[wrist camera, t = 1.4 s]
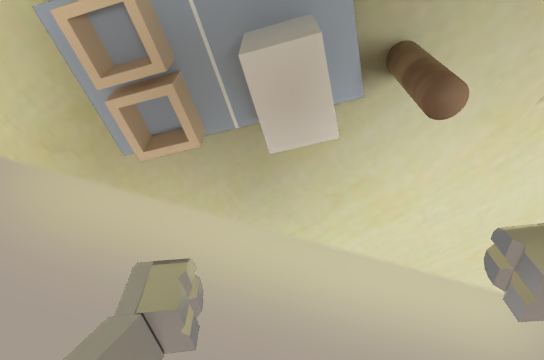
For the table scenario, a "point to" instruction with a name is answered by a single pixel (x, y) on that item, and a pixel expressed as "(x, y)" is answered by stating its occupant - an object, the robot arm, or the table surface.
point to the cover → (290, 83)
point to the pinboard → (184, 62)
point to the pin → (427, 81)
